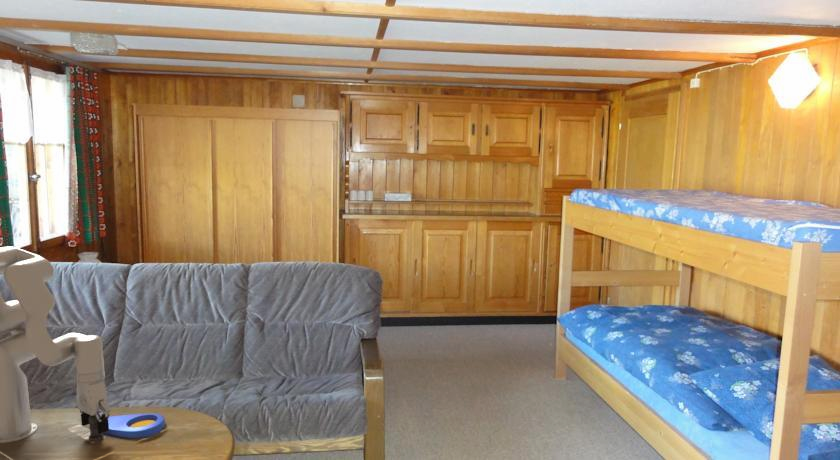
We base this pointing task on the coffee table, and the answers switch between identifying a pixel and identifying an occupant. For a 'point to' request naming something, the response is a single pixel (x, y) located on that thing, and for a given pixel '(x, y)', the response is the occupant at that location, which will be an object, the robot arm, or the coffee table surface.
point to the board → (81, 432)
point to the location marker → (135, 425)
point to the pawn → (94, 429)
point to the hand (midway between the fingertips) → (95, 428)
